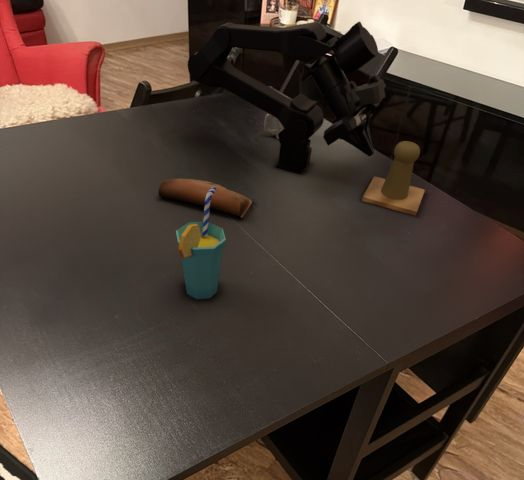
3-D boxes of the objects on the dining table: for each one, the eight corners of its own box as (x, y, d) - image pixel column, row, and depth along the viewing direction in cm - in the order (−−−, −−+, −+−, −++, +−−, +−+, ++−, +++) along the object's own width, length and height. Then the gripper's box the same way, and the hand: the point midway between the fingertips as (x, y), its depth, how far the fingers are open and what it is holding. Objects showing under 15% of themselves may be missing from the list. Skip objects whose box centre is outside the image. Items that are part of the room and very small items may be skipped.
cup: (191, 258, 85) (189, 178, 74) (234, 265, 85) (238, 187, 74) (167, 308, 76) (161, 225, 65) (215, 317, 75) (216, 235, 64)
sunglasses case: (254, 198, 100) (250, 180, 94) (243, 228, 99) (239, 211, 92) (175, 179, 103) (167, 160, 97) (164, 207, 102) (154, 190, 95)
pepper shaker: (410, 190, 108) (426, 142, 100) (404, 202, 104) (421, 152, 96) (384, 183, 109) (398, 134, 101) (377, 194, 105) (392, 145, 97)
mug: (298, 131, 127) (302, 105, 123) (303, 142, 123) (307, 115, 118) (261, 130, 126) (263, 103, 121) (264, 141, 121) (267, 114, 117)
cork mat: (361, 200, 105) (362, 196, 104) (373, 180, 112) (374, 176, 111) (415, 215, 102) (417, 211, 102) (423, 193, 110) (425, 189, 109)
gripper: (351, 74, 87) (391, 151, 92) (381, 52, 99) (416, 121, 104) (305, 109, 95) (345, 178, 100) (338, 84, 107) (373, 147, 112)
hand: (371, 154), depth 104 cm, fingers closed
